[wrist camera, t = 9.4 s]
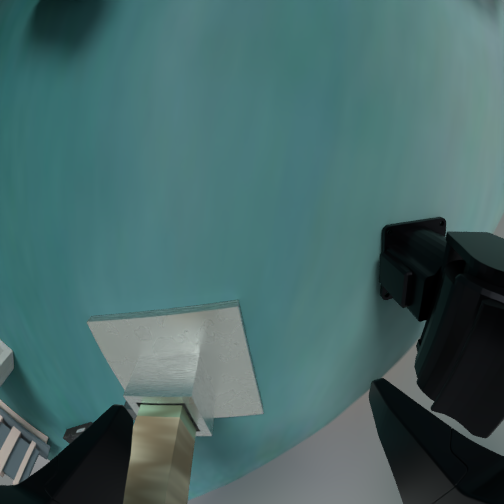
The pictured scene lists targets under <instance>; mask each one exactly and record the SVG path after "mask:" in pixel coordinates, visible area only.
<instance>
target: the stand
mask: <svg viewBox="0 0 504 504" xmlns="http://www.w3.org/2000/svg"><path fill="white" fill-rule="evenodd" d="M87 324H88V326H89V328H90V330H91V332H92V334H93V336H94V338H95V340H96V342H97V343H98V345H99V347H100V349H101V351H102V353H103V355H104V356H105V358H106V360H107V362H108V363H109V365H110V367H111V369H112V370H113V372H114V374H115V375H116V377H117V378H118V380H119V382H120V383H121V385H122V386H123V388H124V390H125V392H124V395H123V396H124V398H125V399H126V402H125V405H124V407H125V408H126V409H127V411H128V412H129V413H130V415H131V416H132V418H133V420H136V417H137V414H138V411H139V408H140V405H182V406H183V408H184V409H185V411H186V413H187V415H188V416H189V418H190V420H191V421H192V423H193V425H194V427H195V428H196V435H195V436H212V434H213V422H214V418H220V417H235V416H247V415H257V414H264V413H263V404H262V400H261V396H260V392H259V388H258V384H257V379H256V375H255V371H254V367H253V362H252V358H251V354H250V349H249V345H248V341H247V336H246V332H245V327H244V323H243V318H242V314H241V309H240V304H239V300H233V301H226V302H219V303H212V304H204V305H196V306H188V307H180V308H171V309H162V310H153V311H143V312H133V313H122V314H111V315H98V316H91V317H90V318H89V319H88V321H87Z"/></svg>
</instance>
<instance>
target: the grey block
mask: <svg viewBox="0 0 504 504" xmlns="http://www.w3.org/2000/svg"><path fill="white" fill-rule="evenodd" d="M13 369H14V359H13V351H12V350H11V349H10V348H9V347H8V346H7V345H6V344H5V343H3V342H2V341H1V340H0V386H1V385H2V384H3V382H4V381H5V380H6V378H7V377H8V376H9V374H10V373H11V372H12V370H13Z"/></svg>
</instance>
